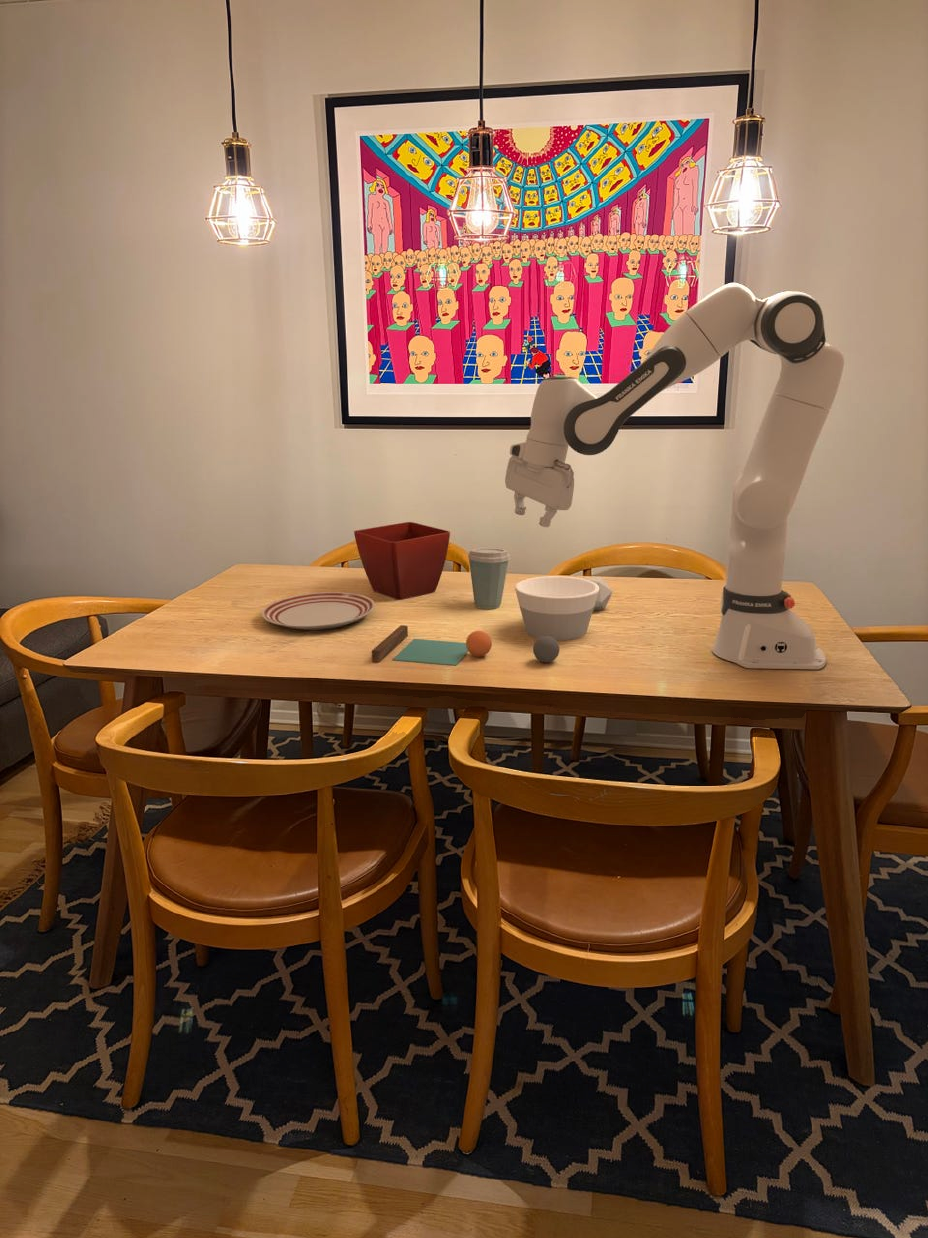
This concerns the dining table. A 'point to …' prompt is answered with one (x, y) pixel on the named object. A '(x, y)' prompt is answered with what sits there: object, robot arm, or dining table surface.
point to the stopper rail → (389, 643)
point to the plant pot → (403, 558)
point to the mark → (433, 652)
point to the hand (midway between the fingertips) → (531, 520)
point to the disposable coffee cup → (488, 575)
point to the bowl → (556, 606)
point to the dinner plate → (318, 610)
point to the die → (601, 593)
